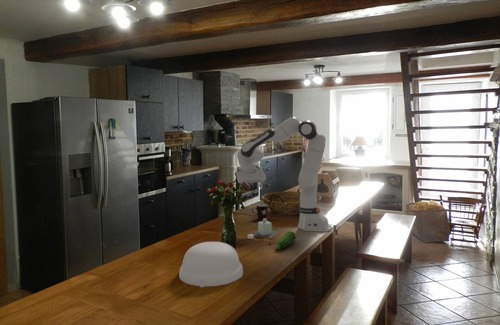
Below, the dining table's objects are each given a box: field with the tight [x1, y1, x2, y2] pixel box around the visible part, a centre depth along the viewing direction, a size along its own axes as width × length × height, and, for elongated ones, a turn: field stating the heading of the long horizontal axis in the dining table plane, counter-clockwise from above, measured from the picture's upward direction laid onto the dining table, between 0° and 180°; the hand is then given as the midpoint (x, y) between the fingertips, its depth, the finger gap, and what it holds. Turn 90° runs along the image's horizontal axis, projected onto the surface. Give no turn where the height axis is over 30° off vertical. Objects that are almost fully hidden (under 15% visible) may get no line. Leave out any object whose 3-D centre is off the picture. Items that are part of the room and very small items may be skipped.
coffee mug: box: [251, 203, 269, 221], centre depth 291 cm, size 12×9×10 cm
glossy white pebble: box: [247, 233, 254, 240], centre depth 240 cm, size 4×4×2 cm
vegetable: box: [274, 231, 297, 251], centre depth 224 cm, size 7×7×20 cm
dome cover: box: [178, 241, 244, 288], centre depth 184 cm, size 32×30×14 cm
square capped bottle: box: [257, 218, 273, 235], centre depth 249 cm, size 6×6×10 cm
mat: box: [252, 230, 280, 239], centre depth 249 cm, size 14×16×1 cm
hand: (255, 187), depth 258 cm, fingers open, 8 cm apart
